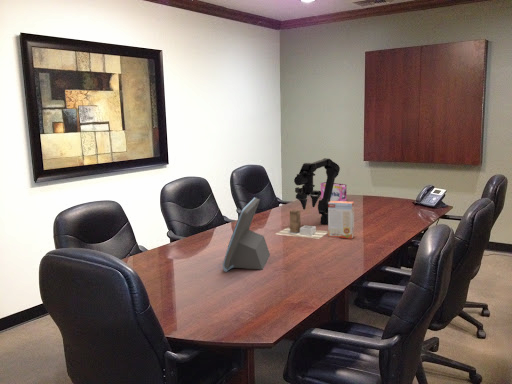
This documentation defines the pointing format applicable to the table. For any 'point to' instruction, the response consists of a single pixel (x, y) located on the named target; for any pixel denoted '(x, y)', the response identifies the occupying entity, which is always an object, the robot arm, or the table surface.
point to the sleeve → (308, 230)
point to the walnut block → (295, 221)
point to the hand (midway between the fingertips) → (308, 208)
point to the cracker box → (341, 219)
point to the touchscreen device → (246, 243)
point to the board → (316, 235)
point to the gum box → (336, 192)
